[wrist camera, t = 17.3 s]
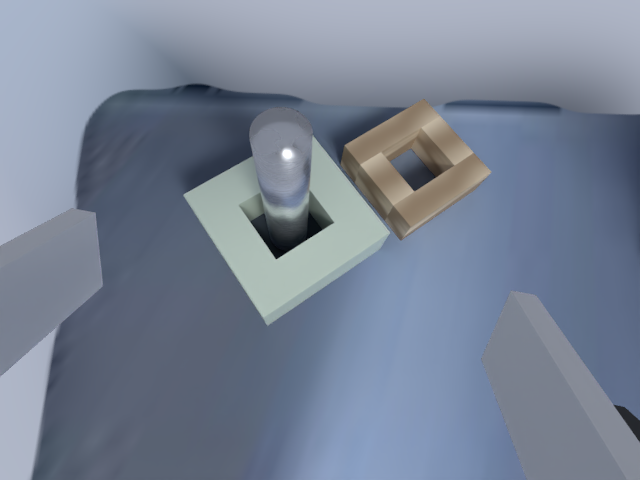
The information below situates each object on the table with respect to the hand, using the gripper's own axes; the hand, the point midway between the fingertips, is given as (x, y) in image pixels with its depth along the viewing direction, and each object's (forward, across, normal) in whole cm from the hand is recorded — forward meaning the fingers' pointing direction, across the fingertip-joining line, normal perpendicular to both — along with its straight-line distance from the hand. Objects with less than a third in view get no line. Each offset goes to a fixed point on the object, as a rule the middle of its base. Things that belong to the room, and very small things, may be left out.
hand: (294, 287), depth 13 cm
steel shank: (+27, -4, -11) cm, 29 cm away
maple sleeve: (+34, +8, -5) cm, 35 cm away
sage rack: (+27, -4, -11) cm, 30 cm away
